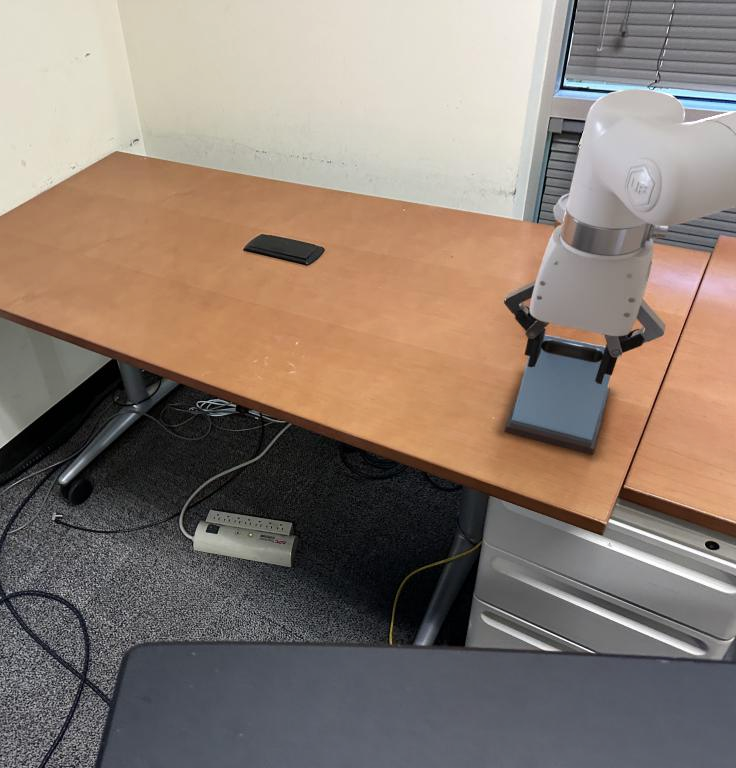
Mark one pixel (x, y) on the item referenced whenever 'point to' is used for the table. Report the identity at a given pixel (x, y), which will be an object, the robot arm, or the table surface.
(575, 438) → the dark rectangular box base
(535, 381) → the handled blue panel
